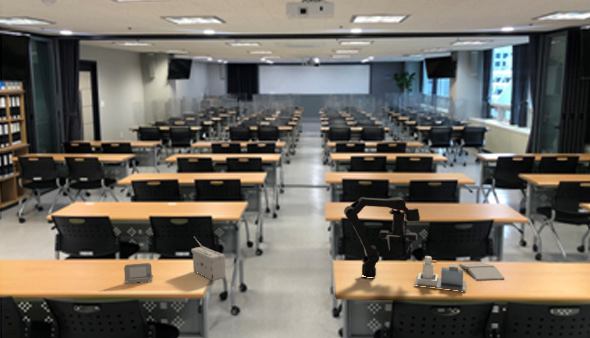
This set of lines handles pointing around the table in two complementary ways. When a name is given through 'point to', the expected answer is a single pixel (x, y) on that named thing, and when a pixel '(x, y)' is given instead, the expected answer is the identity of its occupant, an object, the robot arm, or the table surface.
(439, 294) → the table surface
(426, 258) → the white rounded upright piece
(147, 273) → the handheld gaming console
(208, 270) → the stereo radio cassette player
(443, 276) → the tray with square frame
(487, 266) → the gadget
